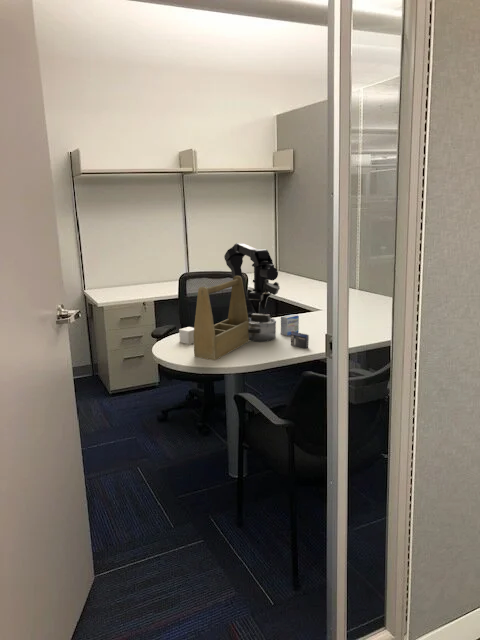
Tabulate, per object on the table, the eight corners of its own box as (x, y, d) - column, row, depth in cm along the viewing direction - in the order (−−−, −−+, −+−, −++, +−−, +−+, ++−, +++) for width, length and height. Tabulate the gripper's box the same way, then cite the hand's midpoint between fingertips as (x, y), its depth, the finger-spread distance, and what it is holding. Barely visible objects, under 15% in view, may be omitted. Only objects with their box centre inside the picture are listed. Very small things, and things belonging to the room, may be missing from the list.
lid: (246, 324, 232) (246, 316, 231) (253, 319, 242) (253, 311, 241) (267, 326, 229) (267, 318, 228) (274, 321, 238) (274, 312, 237)
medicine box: (287, 336, 239) (287, 318, 237) (280, 334, 242) (280, 316, 240) (298, 332, 244) (299, 315, 242) (292, 331, 247) (292, 313, 245)
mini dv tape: (290, 345, 225) (291, 332, 223) (292, 344, 226) (293, 331, 224) (306, 348, 219) (306, 335, 218) (308, 348, 220) (308, 334, 219)
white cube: (188, 344, 228) (188, 331, 227) (179, 342, 232) (179, 329, 231) (198, 341, 233) (197, 328, 231) (189, 339, 236) (188, 326, 235)
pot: (239, 341, 231) (239, 324, 229) (253, 331, 248) (252, 314, 246) (268, 344, 226) (268, 326, 224) (280, 333, 243) (280, 316, 241)
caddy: (215, 360, 206) (213, 287, 198) (193, 357, 211) (190, 285, 203) (249, 342, 230) (248, 276, 223) (229, 339, 235) (227, 274, 228)
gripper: (271, 281, 219) (271, 316, 223) (283, 274, 236) (283, 307, 239) (247, 280, 223) (247, 315, 226) (260, 274, 239) (260, 306, 243)
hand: (260, 311), depth 234 cm, fingers open, 9 cm apart
